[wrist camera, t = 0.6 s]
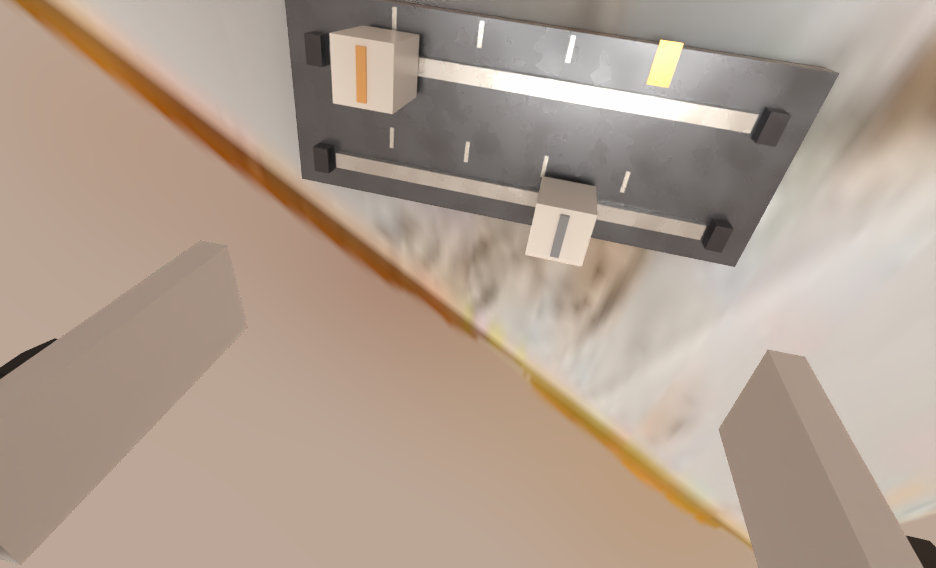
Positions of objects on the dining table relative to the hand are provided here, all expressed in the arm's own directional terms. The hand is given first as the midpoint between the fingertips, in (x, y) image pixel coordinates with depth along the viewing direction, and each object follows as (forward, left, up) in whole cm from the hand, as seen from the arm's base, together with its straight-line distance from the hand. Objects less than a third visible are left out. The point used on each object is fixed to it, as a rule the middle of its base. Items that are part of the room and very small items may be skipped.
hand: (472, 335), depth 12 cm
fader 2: (+7, +3, -25) cm, 26 cm away
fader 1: (-1, -11, -25) cm, 27 cm away
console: (+2, -1, -27) cm, 27 cm away
